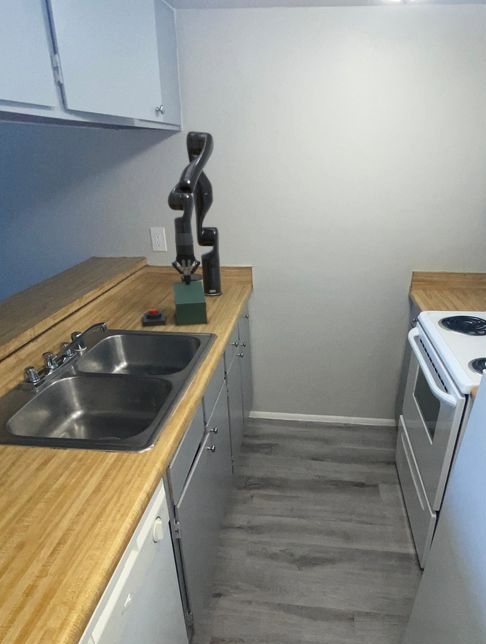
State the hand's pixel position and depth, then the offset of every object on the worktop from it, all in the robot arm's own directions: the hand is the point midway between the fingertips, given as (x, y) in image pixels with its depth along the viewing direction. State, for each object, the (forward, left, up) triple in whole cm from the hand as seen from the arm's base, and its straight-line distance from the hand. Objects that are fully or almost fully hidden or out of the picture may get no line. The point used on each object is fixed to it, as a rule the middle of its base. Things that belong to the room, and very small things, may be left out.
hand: (187, 283), depth 209 cm
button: (+6, -16, -11) cm, 20 cm away
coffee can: (-14, +3, -15) cm, 21 cm away
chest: (+6, 0, -15) cm, 16 cm away
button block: (+6, -16, -15) cm, 23 cm away
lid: (+6, 0, -3) cm, 7 cm away
